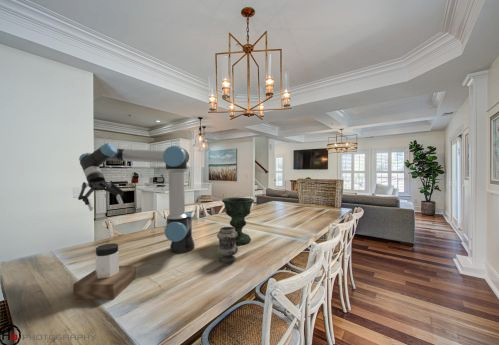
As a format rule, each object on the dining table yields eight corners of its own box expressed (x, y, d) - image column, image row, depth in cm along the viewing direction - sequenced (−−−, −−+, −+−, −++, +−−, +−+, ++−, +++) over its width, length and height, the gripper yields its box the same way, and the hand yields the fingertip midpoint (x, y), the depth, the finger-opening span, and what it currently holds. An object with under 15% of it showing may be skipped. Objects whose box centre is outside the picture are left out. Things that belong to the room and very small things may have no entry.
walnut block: (135, 278, 101) (135, 265, 101) (113, 299, 85) (113, 284, 85) (101, 278, 101) (101, 265, 101) (73, 299, 85) (73, 284, 85)
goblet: (257, 245, 146) (257, 201, 145) (224, 248, 140) (224, 202, 140) (249, 235, 167) (249, 196, 166) (220, 237, 162) (220, 197, 161)
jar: (91, 279, 88) (90, 250, 88) (99, 270, 96) (99, 244, 96) (115, 277, 90) (115, 249, 90) (122, 268, 98) (121, 242, 98)
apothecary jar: (224, 253, 131) (224, 224, 130) (241, 257, 125) (241, 226, 125) (212, 261, 120) (212, 229, 120) (231, 265, 115) (231, 232, 114)
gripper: (117, 180, 128) (130, 207, 120) (63, 182, 107) (75, 216, 99) (121, 171, 125) (135, 199, 116) (67, 172, 104) (79, 205, 96)
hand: (107, 207), depth 108 cm, fingers open, 13 cm apart
